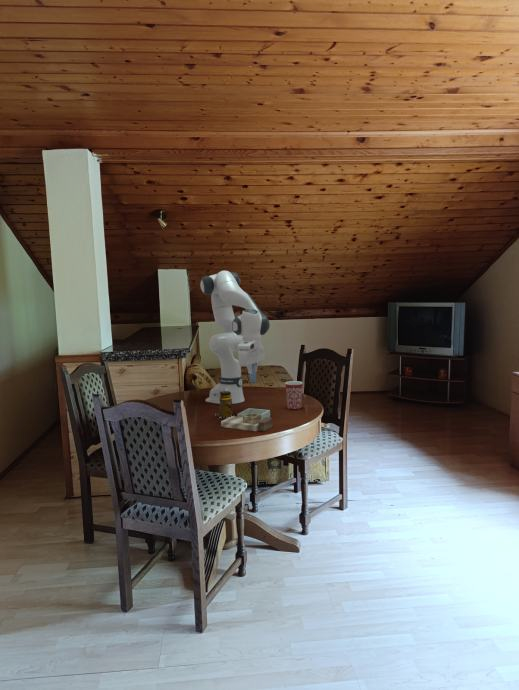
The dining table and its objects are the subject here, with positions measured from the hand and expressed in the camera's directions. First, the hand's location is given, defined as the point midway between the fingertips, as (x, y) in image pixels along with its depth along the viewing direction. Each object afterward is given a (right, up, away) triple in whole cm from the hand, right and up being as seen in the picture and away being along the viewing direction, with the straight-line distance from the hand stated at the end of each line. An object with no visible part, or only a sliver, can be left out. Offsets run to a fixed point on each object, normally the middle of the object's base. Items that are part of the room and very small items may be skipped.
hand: (252, 372), depth 218 cm
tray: (+1, -23, +3) cm, 23 cm away
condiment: (-14, -22, +11) cm, 29 cm away
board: (-4, -24, -8) cm, 26 cm away
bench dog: (+6, -24, -13) cm, 28 cm away
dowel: (0, -5, +1) cm, 5 cm away
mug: (+22, -20, +24) cm, 38 cm away
